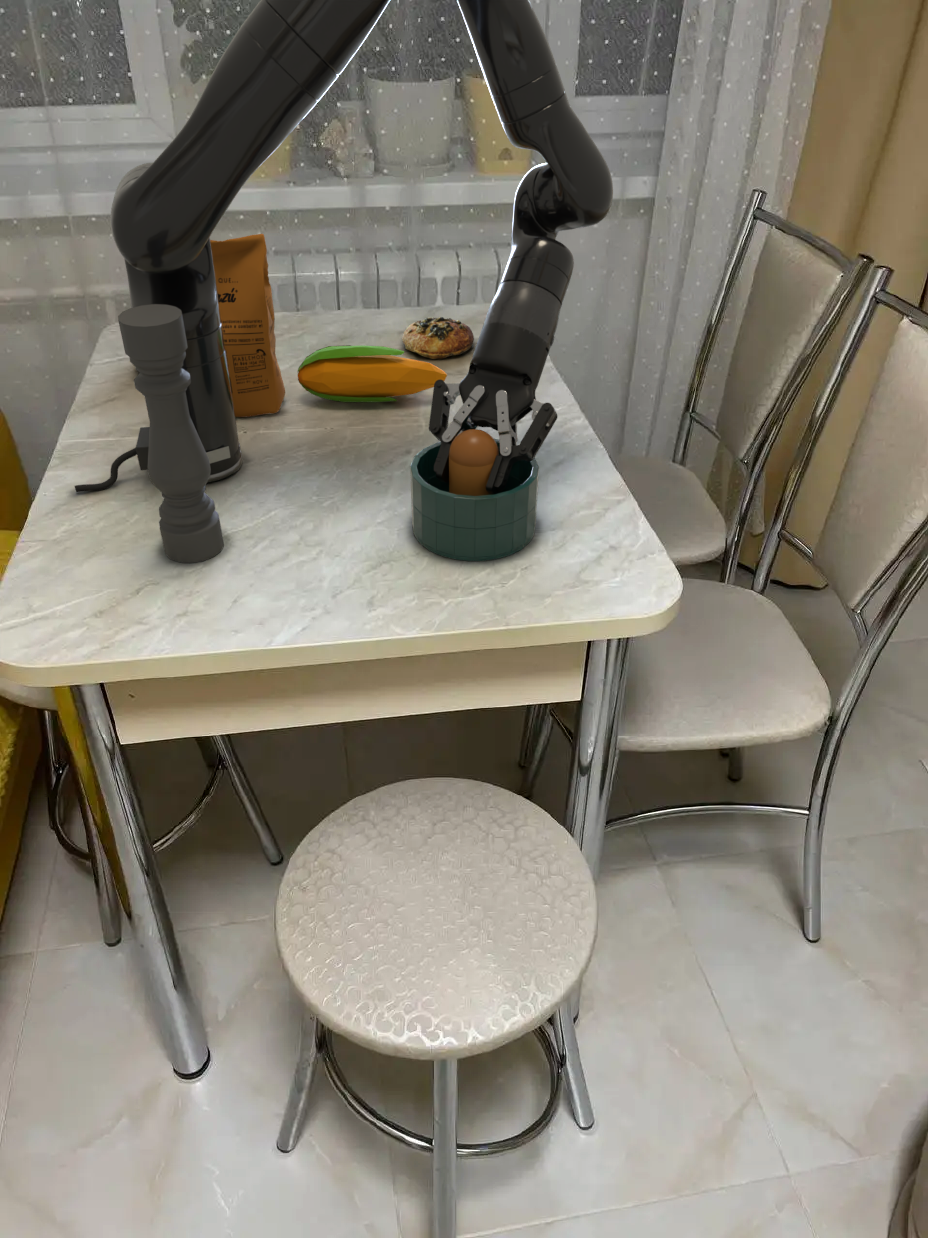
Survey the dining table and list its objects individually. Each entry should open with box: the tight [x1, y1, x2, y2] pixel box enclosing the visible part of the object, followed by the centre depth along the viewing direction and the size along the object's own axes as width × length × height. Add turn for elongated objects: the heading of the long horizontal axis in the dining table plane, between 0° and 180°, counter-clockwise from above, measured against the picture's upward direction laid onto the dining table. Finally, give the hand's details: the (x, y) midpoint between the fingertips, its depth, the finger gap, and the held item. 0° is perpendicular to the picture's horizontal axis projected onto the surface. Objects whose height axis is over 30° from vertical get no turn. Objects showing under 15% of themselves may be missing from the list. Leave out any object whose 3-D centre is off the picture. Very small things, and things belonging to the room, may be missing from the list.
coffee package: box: [210, 233, 286, 418], centre depth 125 cm, size 10×12×22 cm
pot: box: [409, 437, 540, 562], centre depth 105 cm, size 13×13×8 cm
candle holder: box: [117, 304, 225, 564], centre depth 96 cm, size 6×6×25 cm
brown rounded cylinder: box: [449, 428, 499, 496], centre depth 103 cm, size 5×5×10 cm
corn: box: [296, 344, 448, 403], centre depth 131 cm, size 7×8×20 cm
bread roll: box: [401, 316, 475, 360], centre depth 147 cm, size 11×11×5 cm
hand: (466, 485), depth 102 cm, fingers closed on brown rounded cylinder, 5 cm apart
